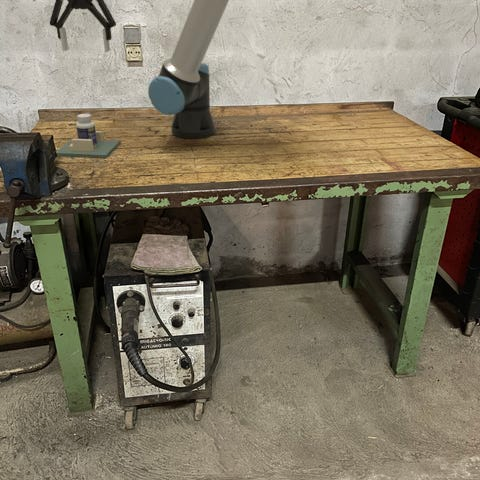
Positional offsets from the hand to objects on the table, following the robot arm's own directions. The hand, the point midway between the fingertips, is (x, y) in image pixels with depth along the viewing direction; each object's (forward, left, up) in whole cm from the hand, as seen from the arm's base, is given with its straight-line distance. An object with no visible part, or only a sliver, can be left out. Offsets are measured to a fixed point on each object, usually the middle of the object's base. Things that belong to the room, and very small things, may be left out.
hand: (86, 50), depth 157 cm
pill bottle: (-3, +16, -26) cm, 31 cm away
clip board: (-3, +16, -27) cm, 31 cm away
